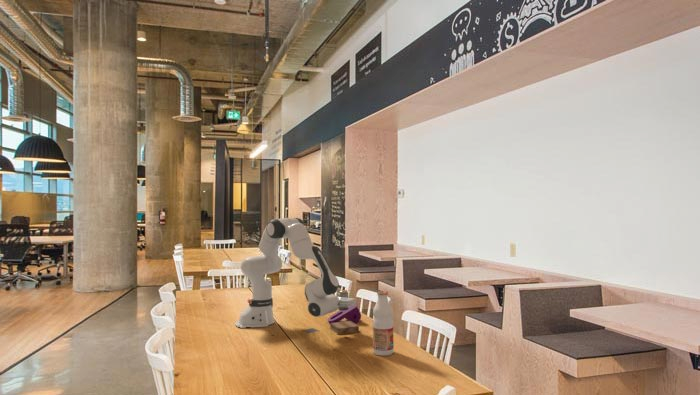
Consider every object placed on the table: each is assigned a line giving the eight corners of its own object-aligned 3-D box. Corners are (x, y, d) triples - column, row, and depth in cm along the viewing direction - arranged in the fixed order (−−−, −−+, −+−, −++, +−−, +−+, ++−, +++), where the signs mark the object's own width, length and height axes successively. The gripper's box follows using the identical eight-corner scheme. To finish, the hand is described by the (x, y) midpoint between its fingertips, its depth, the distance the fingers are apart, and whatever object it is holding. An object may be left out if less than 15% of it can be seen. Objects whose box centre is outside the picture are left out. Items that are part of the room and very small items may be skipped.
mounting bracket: (336, 335, 257) (363, 319, 262) (330, 322, 256) (357, 306, 261) (332, 331, 266) (357, 315, 271) (325, 318, 265) (351, 303, 270)
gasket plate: (308, 334, 242) (308, 333, 242) (301, 331, 247) (301, 330, 247) (319, 331, 246) (319, 330, 246) (312, 329, 252) (312, 328, 252)
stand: (337, 334, 239) (337, 328, 239) (330, 328, 250) (330, 323, 250) (358, 331, 243) (358, 326, 243) (350, 326, 254) (350, 320, 254)
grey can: (340, 310, 243) (340, 292, 243) (336, 308, 248) (336, 290, 248) (349, 309, 245) (349, 291, 245) (346, 307, 250) (346, 289, 250)
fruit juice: (370, 350, 212) (370, 290, 213) (389, 348, 214) (389, 289, 215) (376, 357, 203) (375, 294, 203) (396, 355, 205) (395, 293, 206)
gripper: (348, 299, 230) (360, 294, 242) (314, 295, 240) (328, 291, 252) (348, 311, 230) (361, 306, 242) (314, 307, 240) (328, 302, 252)
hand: (344, 298), depth 247 cm, fingers closed on grey can, 5 cm apart
